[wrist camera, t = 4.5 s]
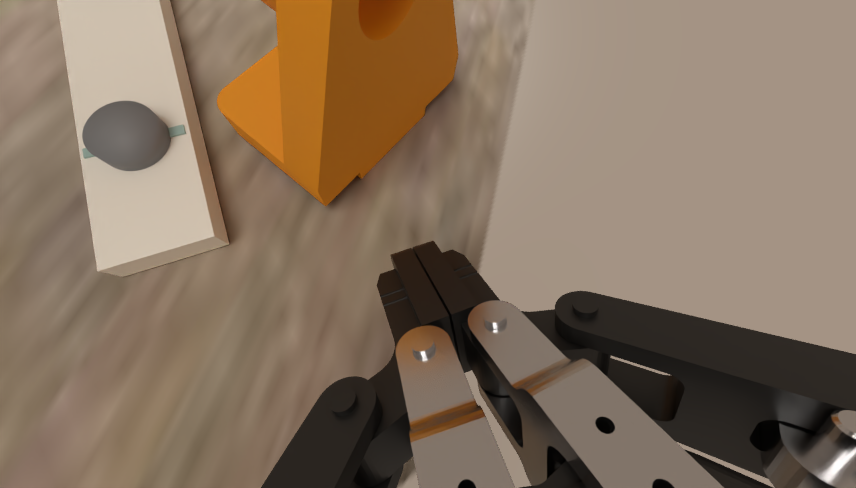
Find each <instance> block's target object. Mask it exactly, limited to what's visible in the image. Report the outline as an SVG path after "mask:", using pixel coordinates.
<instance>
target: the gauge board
mask: <svg viewBox="0 0 856 488" xmlns="http://www.w3.org/2000/svg"><path fill="white" fill-rule="evenodd" d="M57 4H58V11H59V18H60V24H61V31H62V38H63V44H64V51H65V58H66V64H67V71H68V78H69V84H70V91H71V98H72V104H73V111H74V118H75V124H76V131H77V138H78V144H79V151H80V158H81V164H82V171H83V178H84V184H85V191H86V198H87V205H88V211H89V218H90V225H91V231H92V238H93V245H94V251H95V258H96V265H97V271H99V272H103V273H108V274H112V275H117V276H121V277H125V276H128V275H131V274H134V273H138V272H141V271H144V270H148V269H151V268H154V267H157V266H161V265H164V264H167V263H171V262H174V261H177V260H180V259H184V258H187V257H190V256H194V255H197V254H200V253H203V252H207V251H210V250H213V249H216V248H220V247H223V246H226V245H229V241H228V237H227V233H226V229H225V224H224V220H223V216H222V212H221V208H220V204H219V200H218V196H217V191H216V187H215V183H214V179H213V175H212V171H211V167H210V163H209V159H208V154H207V150H206V146H205V142H204V138H203V134H202V130H201V126H200V122H199V117H198V113H197V109H196V105H195V101H194V97H193V93H192V89H191V84H190V80H189V76H188V72H187V68H186V64H185V60H184V56H183V52H182V47H181V43H180V39H179V35H178V31H177V27H176V23H175V19H174V15H173V10H172V6H171V2H170V0H57Z"/></svg>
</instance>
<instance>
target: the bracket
mask: <svg viewBox="0 0 856 488" xmlns="http://www.w3.org/2000/svg"><path fill="white" fill-rule="evenodd" d="M261 1H263V2H264V3H265V4H266V5H268V6H269V7H270V8H272V9H273V10H274V11H276V17H277V37H278V46H277V47H275V48H274V49H273V50H271V51H270V52H269V53H268V54H266V55H265V56H264V57H263V58H261V59H260V60H259V61H258V62H256V63H255V64H254V65H252V66H251V67H250V68H249V69H247V70H246V71H245V72H244V73H242V74H241V75H240V76H239V77H237V78H236V79H235V80H234V81H232V82H231V83H230V84H228V85H227V86H226V87H225V88H224V89H222V90H221V92H220V93H219V95H218V98H217V105H218V108H219V110H220V111H221V112H222V113H223V115H224V116H225V117H226V119H227V120H228V121H229V122H230V124H231V125H232V126H233V128H234V129H235V130H236V131H237V133H238V134H239V135H240V136H241V137H243V138H244V139H245V140H246V141H247V142H249V143H250V144H251V145H252V146H254V147H255V148H256V149H257V150H258V151H260V152H261V153H262V154H263V155H264V156H266V157H267V158H268V159H269V160H270V161H272V162H273V163H274V164H275V165H276V166H278V167H279V168H280V169H281V170H282V171H284V172H285V173H286V174H287V175H288V176H290V177H291V178H292V179H293V180H294V181H296V182H297V183H298V184H299V185H300V186H302V187H303V188H304V189H305V190H306V191H308V192H309V193H310V194H311V195H313V196H314V197H315V198H316V199H317V200H319V201H320V202H321V203H322V204H323V205H325V206H327V205H328V204H329V203H330V202H331V201H332V200H333V199H334V198H335V197H336V196H337V195H338V194H339V193H340V192H341V191H342V190H343V189H344V188H345V187H346V186H347V185H348V184H349V183H350V182H351V181H352V180H353V179H354V178H355V177H356V176H358V177H360V178H361V179H362V178H363V177H364V176H365V175H366V174H367V173H368V172H369V171H370V170H371V169H372V168H373V167H374V166H375V165H376V164H377V163H378V162H379V161H380V160H381V159H382V158H383V157H384V156H385V155H386V154H387V153H388V152H389V151H390V150H391V149H392V148H393V146H394V145H395V144H396V143H397V142H398V141H399V140H400V139H401V138H402V137H403V136H404V135H405V134H406V133H407V132H408V131H409V130H410V129H411V128H412V127H413V126H414V125H415V124H416V123H417V122H418V121H419V120H420V119H421V118H422V117H423V116H424V115H425V108H426V106H427V105H428V104H429V103H430V102H431V101H432V100H433V99H434V98H435V97H436V96H437V95H438V94H439V93H440V92H441V91H442V90H443V89H444V88H445V87H446V86H447V85H448V84H449V83H450V82H451V81H452V80H453V77H454V73H455V68H456V63H457V59H458V47H457V37H456V27H455V17H454V8H453V0H261Z"/></svg>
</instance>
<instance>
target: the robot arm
mask: <svg viewBox="0 0 856 488" xmlns="http://www.w3.org/2000/svg"><path fill="white" fill-rule="evenodd" d="M391 260H392V263H393V266H394V270H391V271H388V272H385V273H382V274H380V276H379V280H378V283H377V287H378V290H379V294H380V297H381V300H382V303H383V306H384V309H385V312H386V315H387V319H388V322H389V325H390V328H391V331H392V334H393V337H394V341H395V350H394V354H393V356H392V358H391V360H390V361H389V363H388V364H387V365H386V366H385V367H384V368H383V369H382V370H381V371H380V372H379V373H377V374H376V375H374V376H373V377H372V378H370V379H369V380H367V379H365V378H362V377H356V376H354V377H346V378H343V379H340V380H338V381H336V382H335V383H333V384H332V385H330V386H329V387H328V388H327V389H326V390H325V391H324V392H323V393H322V394H321V396H320V397H319V399H318V400H317V402H316V403H315V405H314V406H313V408H312V409H311V411H310V412H309V414H308V416H307V417H306V419H305V420H304V422H303V423H302V425H301V426H300V428H299V430H298V431H297V433H296V434H295V436H294V437H293V439H292V440H291V442H290V443H289V445H288V447H287V448H286V450H285V451H284V453H283V454H282V456H281V457H280V459H279V461H278V462H277V464H276V465H275V467H274V468H273V470H272V471H271V473H270V474H269V476H268V478H267V479H266V481H265V482H264V484H263V485H262V487H261V488H396V487H397V485H398V482H399V479H400V477H401V474H402V470H403V464H405V463H406V462H407V461H408V460H409V459H410V458H411V457H412V456H413V457H414V462H415V467H416V472H417V478H418V483H419V487H420V488H515V486H514V484H513V481H512V479H511V476H510V474H509V472H508V469H507V467H506V465H505V462H504V459H503V457H502V455H501V452H500V450H499V447H498V445H497V443H496V440H495V438H494V435H493V433H492V430H491V428H490V426H489V423H488V421H487V418H486V416H485V414H484V412H483V410H482V408H481V407H480V406H478V405H477V403H476V401H475V399H474V396H473V394H472V392H471V389H470V386H469V384H468V381H467V379H466V376H465V374H464V373H465V372H468V371H470V370H472V371H473V373H474V374H475V376H476V378H477V381H478V387H479V391H480V394H481V396H482V398H483V399H484V401H485V402H486V404H487V406H488V407H489V409H490V410H491V412H492V414H493V415H494V417H495V418H496V419H497V422H498V423H499V425H500V426H501V428H502V430H503V431H504V433H505V434H506V436H507V438H508V439H509V441H510V442H511V444H512V445H513V447H514V449H515V450H516V452H517V454H518V455H519V457H520V460H521V462H522V464H523V466H524V469H525V472H526V475H527V477H528V479H529V481H530V483H531V485H532V486H528V487H521V488H773V487H770V486H768V485H766V484H764V483H761V482H759V481H757V480H754V479H752V478H750V477H748V476H745V475H743V474H741V473H739V472H736V471H734V470H732V469H730V468H727V467H725V466H723V465H720V464H718V463H716V462H714V461H711V460H709V459H707V458H705V457H702V456H700V455H698V454H695V453H692V452H690V451H687V450H684V449H683V448H682V447H680V445H678V444H677V443H676V442H679V443H681V444H684V445H686V446H689V447H691V448H694V449H696V450H699V451H701V452H703V453H706V454H708V455H711V456H713V457H716V458H718V459H721V460H723V461H726V462H728V463H731V464H733V465H735V466H738V467H740V468H743V469H745V470H748V471H750V472H753V473H755V474H758V475H760V476H763V477H765V478H768V479H769V480H770V482H771V483H772V484H773V486H774V487H775V488H856V354H852V353H848V352H844V351H839V350H834V349H830V348H827V347H822V346H818V345H814V344H810V343H805V342H801V341H797V340H792V339H788V338H784V337H780V336H775V335H771V334H767V333H763V332H758V331H754V330H750V329H746V328H741V327H737V326H733V325H729V324H724V323H720V322H716V321H711V320H707V319H703V318H698V317H694V316H690V315H686V314H682V313H677V312H673V311H669V310H665V309H660V308H656V307H652V306H647V305H643V304H639V303H634V302H631V301H626V300H622V299H617V298H613V297H609V296H605V295H601V294H596V293H592V292H586V291H576V292H571V293H567V294H565V295H563V296H561V297H560V298H559V299H558V300H557V302H556V305H555V310H546V311H537V312H523V311H520V310H519V309H518V308H517V307H516V306H514V305H512V304H510V303H508V302H505V301H500V300H499V299H498V297H497V296H496V295H495V294H494V292H493V291H492V290H491V288H489V286H488V285H487V283H486V282H485V281H484V280H483V278H482V277H481V276H480V275H479V273H477V271H476V270H475V268H474V267H473V266H472V265H471V263H470V262H469V261H468V260H467V258H466V257H465V256H464V255H462V254H460V253H458V252H456V251H454V250H450V251H447V252H444V253H442V252H441V251H440V249H439V248H438V247H437V245H436V244H435V242H434V241H431V242H428V243H425V244H421V245H418V246H415V247H413V248H410V249H407V250H404V251H401V252H397V253H394V254H391ZM611 355H612V356H615V357H618V358H621V359H624V360H627V361H630V362H633V363H637V364H640V365H643V366H646V367H649V368H652V369H655V370H658V371H662V372H665V373H668V374H670V376H668V375H662V374H658V373H655V372H652V371H649V370H646V369H643V368H640V367H636V366H633V365H630V364H627V363H624V362H621V361H618V360H615V359H612V358H610V356H611ZM675 441H676V442H675Z"/></svg>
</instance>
